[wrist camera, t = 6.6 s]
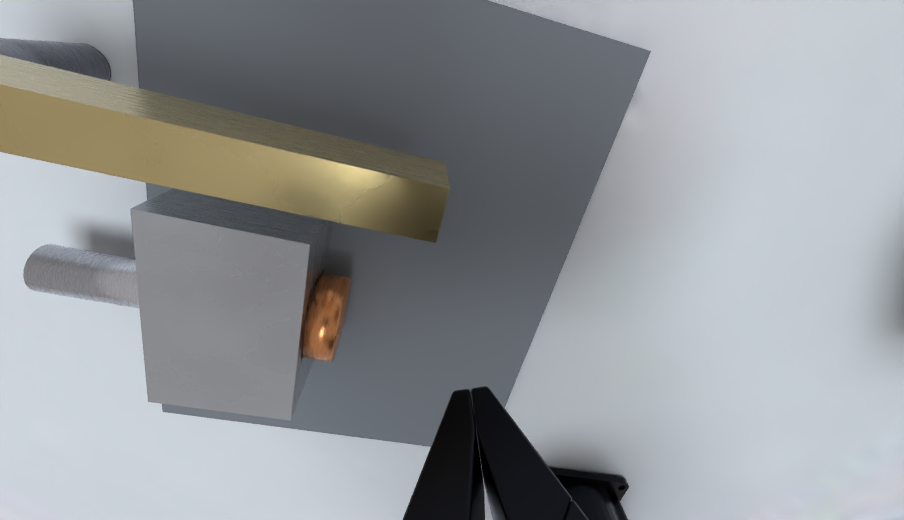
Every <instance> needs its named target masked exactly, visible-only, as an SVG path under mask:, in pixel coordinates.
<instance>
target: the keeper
mask: <svg viewBox="0 0 904 520" xmlns="http://www.w3.org/2000/svg"><path fill="white" fill-rule="evenodd" d="M110 76H111V72H110V67H109V64H108V62H107V60H106V59H105V57H104V56H103V55H102V54H101V53H100V52H99V51H98V50H97V49H95V48H94V47H92V46H90V45H87V44H83V43H68V42H52V41H37V40H21V39H6V38H0V152H4V153H9V154H13V155H18V156H23V157H28V158H32V159H37V160H42V161H47V162H51V163H56V164H61V165H66V166H71V167H75V168H80V169H85V170H90V171H94V172H99V173H104V174H109V175H113V176H118V177H123V178H128V179H132V180H137V181H142V182H147V183H152V184H156V185H161V186H166V187H171V188H175V189H180V190H185V191H190V192H194V193H199V194H204V195H209V196H214V197H218V198H223V199H228V200H233V201H237V202H242V203H247V204H252V205H256V206H261V207H266V208H271V209H276V210H280V211H285V212H290V213H295V214H299V215H304V216H309V217H314V218H318V219H323V220H328V221H333V222H337V223H342V224H347V225H352V226H357V227H361V228H366V229H371V230H376V231H380V232H385V233H390V234H395V235H399V236H404V237H409V238H414V239H419V240H423V241H428V242H433V243H436V241H437V237H438V233H439V229H440V225H441V222H442V218H443V214H444V210H445V206H446V202H447V198H448V194H449V190H450V187H449V181H448V175H447V170H446V164H445V162H442V161H438V160H433V159H429V158H425V157H421V156H417V155H413V154H409V153H405V152H400V151H396V150H392V149H388V148H384V147H380V146H376V145H372V144H367V143H363V142H359V141H355V140H351V139H347V138H343V137H339V136H334V135H330V134H326V133H322V132H318V131H314V130H310V129H306V128H301V127H297V126H293V125H289V124H285V123H281V122H277V121H273V120H268V119H264V118H260V117H256V116H252V115H248V114H244V113H240V112H235V111H231V110H227V109H223V108H219V107H215V106H211V105H207V104H202V103H198V102H194V101H190V100H186V99H182V98H178V97H174V96H169V95H165V94H161V93H157V92H153V91H149V90H145V89H141V88H136V87H132V86H128V85H124V84H120V83H116V82H112V81H109V80H110Z"/></svg>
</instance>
